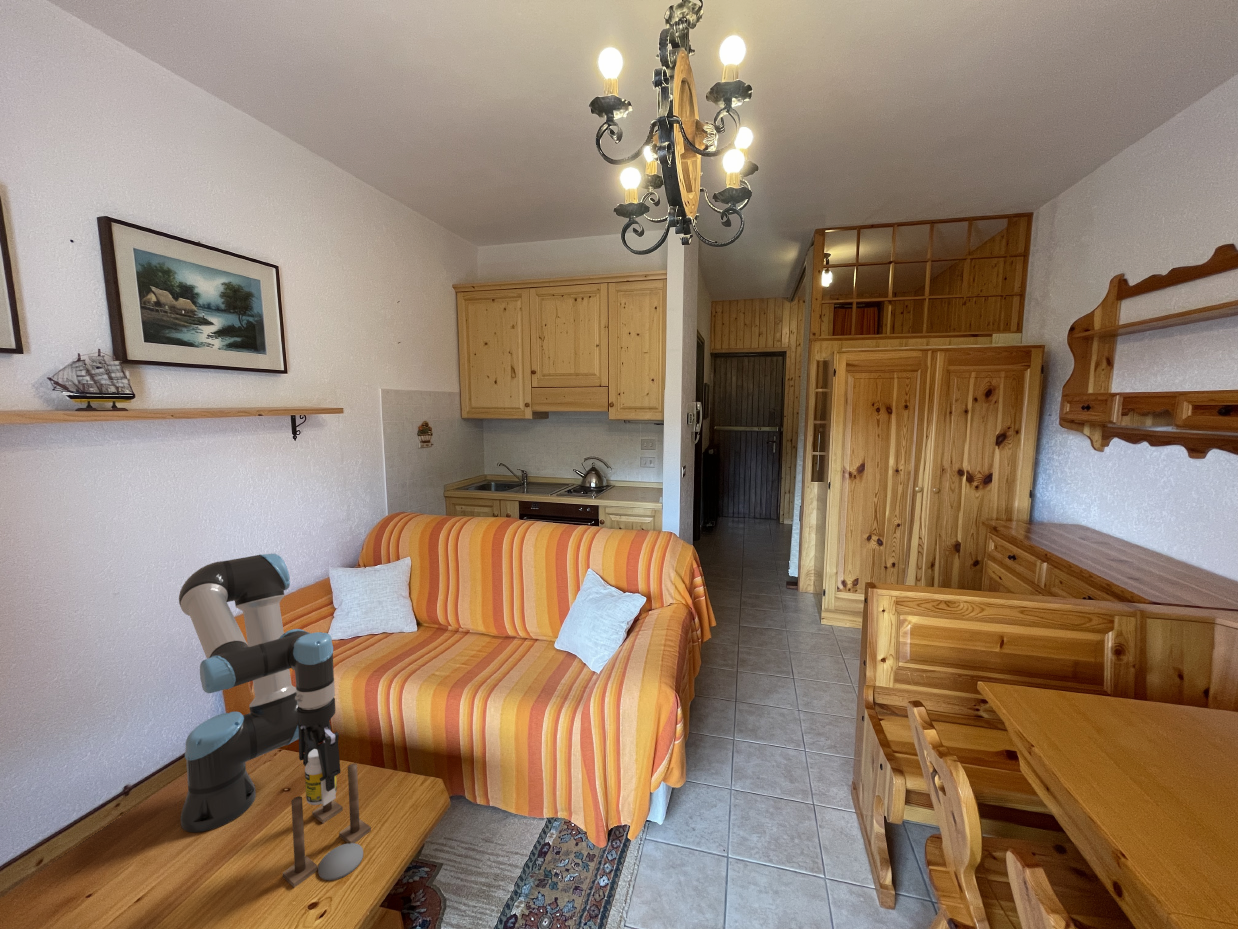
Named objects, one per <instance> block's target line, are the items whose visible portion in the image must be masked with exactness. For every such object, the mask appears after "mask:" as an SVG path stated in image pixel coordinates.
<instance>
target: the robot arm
mask: <svg viewBox="0 0 1238 929" xmlns="http://www.w3.org/2000/svg"><path fill="white" fill-rule="evenodd" d="M290 586H291V582H290V573H289V570H288V566H287V564H286V562H285V561H284V559H283V558H282V556H280V554H277V553H267V554H266V553H265V554H257V555H256V554H255V555H251V556H246V557H240V558H234V559H227V560H221V561H216V562H212V563H209V564H206V565H204V566H202V567H200V568H199V569H198V570H196V571H195V572H194V573H192V574H191V576H189V577H188V578H187V580H186V581H185V582H184V584H183V585H182V587H181V589H180V591H179V595H178V604H179V607H180V608H181V611H182V613H183V614H185V615H187V616H189V617H190V619H191V622H192V626H193V627H194V630H195V633H196V635H197V638H198V640H199V642H200V645H201V647H202V650H203V652H204V655H205V658H206V659H203V660H202V661H201V662H200V665H199V677H200V683H201V687H202V690H203V692H204V693H206V694H214V693H217V692H220V691H224V690H230V689H232V688H235V687H237V686H241V685H244V684H247V683H249V682H252V684H253V693H254V698H253V700H252V701H251V702H250V703H249V705H248V706H249V713H246V714H242V713H241V712H239V711H230V712H224V713H221V714H217V715H215V716H213V717H210V718H208V719H207V720H204V721H202V723H200V724H199V725H197V726H196V727H195V728H193V730H192V731H191V732H189V734H188V735H187V737H186V740H185V749H184V750H185V752H184V758H185V760H186V773H187V774H186V775H187V776H186V777H187V794H186V797H185V801H184V803H183V806H182V809H181V813H180V825H181V829H182V830H184V831H186V832H189V833H202V832H208V831H210V830H214V829H217V828H219V827H222V826H224V825H226V824H228V823H231V822H232V821H234V820H235V819H237V818H239V817H241V816H242V815H243V814H244V813H246V812H247V810H249V809H250V807H251V806H252V805H253V803H254V802H255V800H256V794H257V793H256V785H255V784H254V782H253V780H252V778H251V777H250V775H249V773H248V771H247V767H246V765H247V764H246V763H247V762H249V761H252V760H254V759H256V758H259V757H261V756H262V755H265V754H268V753H270V752H272V751H274V750H277V749H279V748H281V747H284V746H288V745H290V744H291V743H294V742H295V741H297V740H298V759H299V760H300V761H303V762H302V764H303V766H305V767H306V764H307V763H308V754H309V753H310V751H312V750H313V749H317V751H318V755H319V760H320V765H321V770H322V775H323V777H321V778H320V781H321V796H322V804H321V806H322V805H323V806H325V805H326V804H328V803H329V802H331V801H332V800H334V801H335V799H336V796H337V794H336V793H335V776H336V777H337V775H340V774H341V771H342V770H341V760H340V750H339V737H340V736H339V735H340V734H339V732H338V731H336V732H334V733H333V732H332V727H331V726H332V725H331V723H330V721H331V719H332V718H333V717H334V716H335V714H336V712H337V710H336V698H335V696H336V694H335V692H336V691H335V689H336V688H335V687H336V686H335V675H334V674H335V671H334V645H333V639H332V636H331V634H329V633H328V632H323V631H322V632H321V631H320V632H318V631H317V632H311V633H310V632H308V631H306V630H304V629H300V628H293V629H289V630H287V631H284V625H283V619H282V612H281V604H280V603H281V601H282V600H283V598H284V597H285V591H287V590H289V588H290ZM229 602H234V605H235V608H236V609H238V610H240V611H242V612H243V619H244V620H243V621H244V626H245V634H246V637H245V636H244V634H243V632H242V630H241V628H240V626H239V624H238V622H237V620H236V618H235V616H234V614H233V612H232V610H231V608H230V606H229V604H228V603H229ZM290 669H292V670H293V671H294V676H295V677H294V678H295V686H293V684H292V678H291V671H290Z"/></svg>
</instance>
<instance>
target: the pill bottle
mask: <svg viewBox="0 0 1238 929" xmlns="http://www.w3.org/2000/svg"><path fill="white" fill-rule="evenodd" d="M321 777H323V775H322V770H321V765H320V760H319V755H318V751H317V749H313V750H312V751H310V753H309V754H308V763H307V764H306V766H305V767H304V782H305V799H306V803H308V804H309V805H311V806H318V805H322V796H321V781H320V778H321ZM337 789H338V785H337V775H336V776H335V794H336V793H337V791H338V790H337Z"/></svg>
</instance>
